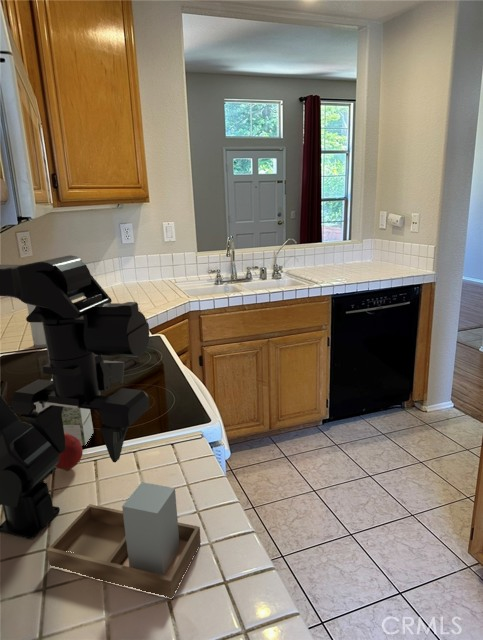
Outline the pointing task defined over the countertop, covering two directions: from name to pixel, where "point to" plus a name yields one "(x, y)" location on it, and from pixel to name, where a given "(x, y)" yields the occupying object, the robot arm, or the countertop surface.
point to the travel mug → (37, 331)
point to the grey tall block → (151, 528)
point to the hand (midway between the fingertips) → (88, 456)
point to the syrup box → (77, 423)
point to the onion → (70, 453)
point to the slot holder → (117, 552)
